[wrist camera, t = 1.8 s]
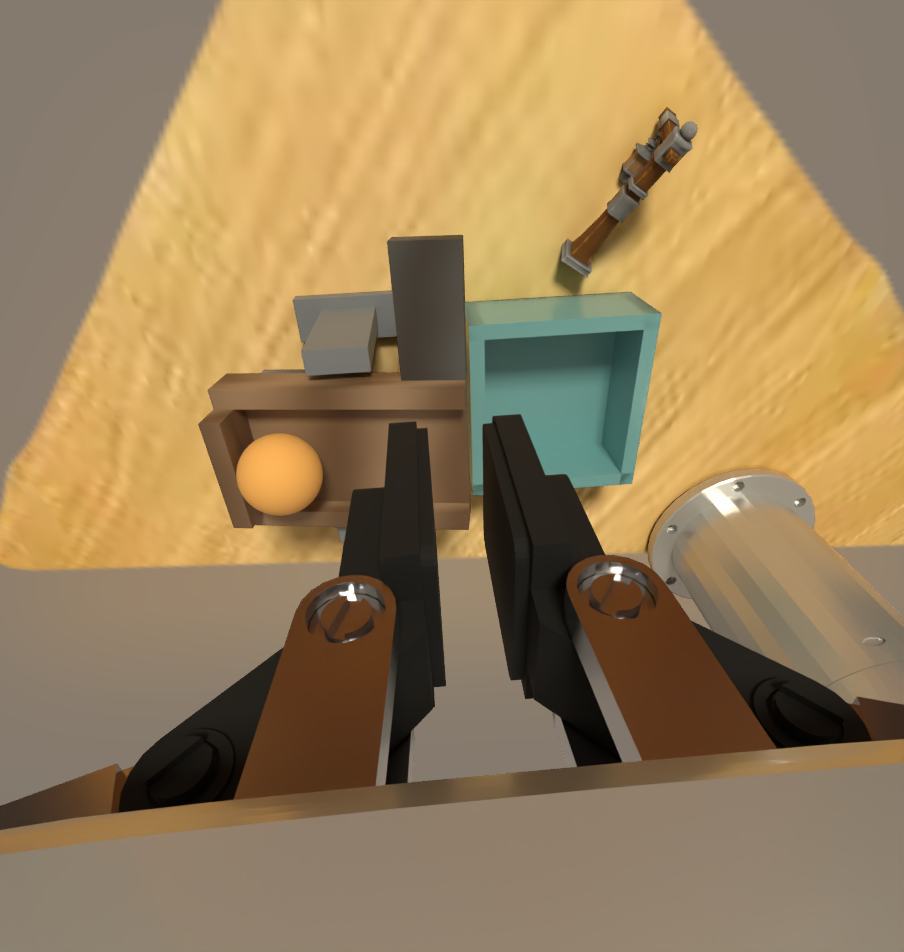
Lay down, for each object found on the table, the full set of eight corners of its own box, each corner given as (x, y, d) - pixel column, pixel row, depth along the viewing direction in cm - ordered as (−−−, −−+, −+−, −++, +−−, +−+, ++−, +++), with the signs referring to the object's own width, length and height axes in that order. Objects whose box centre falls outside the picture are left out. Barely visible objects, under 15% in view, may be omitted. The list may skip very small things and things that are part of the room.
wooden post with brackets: (699, 104, 25) (712, 144, 23) (587, 236, 31) (587, 280, 29) (672, 81, 25) (682, 118, 22) (563, 220, 31) (561, 262, 28)
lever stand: (401, 289, 30) (399, 331, 24) (418, 472, 37) (420, 543, 30) (295, 296, 30) (264, 340, 23) (331, 479, 36) (315, 551, 30)
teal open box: (630, 291, 31) (661, 313, 27) (609, 447, 37) (632, 483, 33) (461, 302, 31) (468, 325, 27) (466, 458, 36) (473, 495, 33)
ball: (337, 431, 26) (318, 475, 23) (323, 493, 29) (304, 541, 25) (257, 409, 26) (226, 450, 23) (249, 473, 28) (219, 520, 25)
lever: (467, 224, 24) (456, 251, 19) (473, 477, 32) (466, 548, 26) (219, 232, 25) (142, 259, 20) (283, 475, 33) (239, 542, 28)
